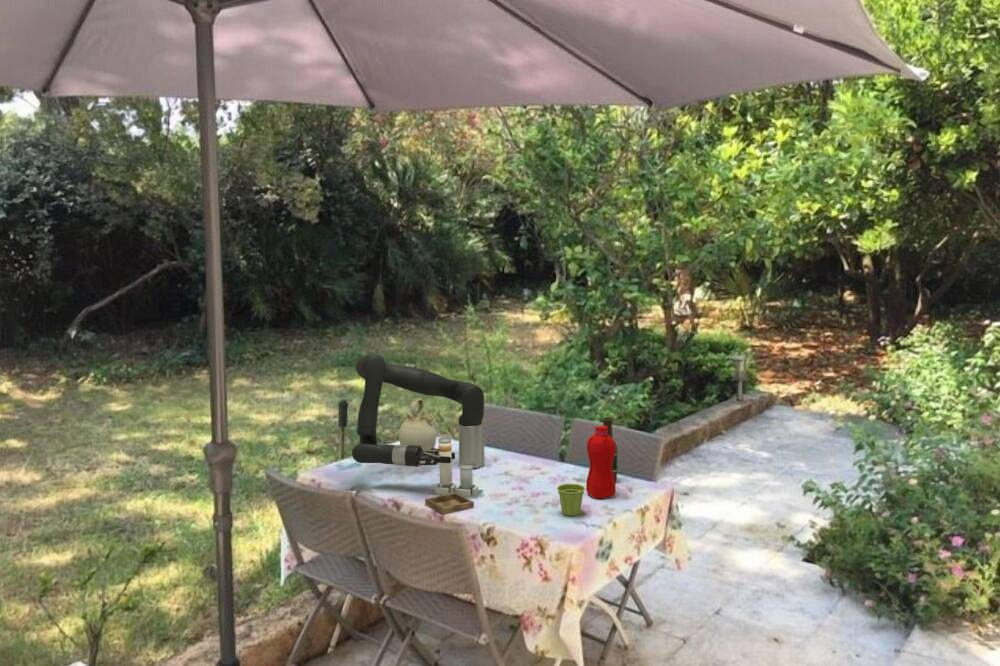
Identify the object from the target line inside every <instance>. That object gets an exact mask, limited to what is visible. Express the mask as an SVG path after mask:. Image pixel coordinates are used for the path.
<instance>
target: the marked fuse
mask: <svg viewBox="0 0 1000 666" xmlns="http://www.w3.org/2000/svg"><path fill="white" fill-rule="evenodd" d="M438 449H439V456H440V457H441V456H446V457H451V463H441V462H440V463H439V468H438V469H439V483H440V485H442V484H443V485H448V484H451V483H453V466H452V465H453V464H452V463H453V462H452V461H453V459H452V456H451V453H452V438H451V437H448V436H447V437H446V436H444V437H439V438H438Z"/></svg>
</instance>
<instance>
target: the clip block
mask: <svg viewBox="0 0 1000 666" xmlns="http://www.w3.org/2000/svg"><path fill="white" fill-rule="evenodd" d="M483 491H484V489H479V486H478V485H476V484H475V483H473V489H472V494H471V490H466V489H460V484H458V485H457V484H455V482H452V483H451V484H448V485H443V484H440V482H438V483H437V482H436V484H435V485H434V486H433V489H432V490H431V491H430V492H429V493H428V494H427V495H428V496H441V495H445V494H450V493H455V492H456V493H458V494H460V495H462V496H464V497H465V498H467V499H478V498H479V497H480V495H481V494H482V493H483Z"/></svg>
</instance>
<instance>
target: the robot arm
mask: <svg viewBox="0 0 1000 666" xmlns="http://www.w3.org/2000/svg"><path fill="white" fill-rule="evenodd" d="M355 370H356V373H357V375H358V376H359V377H361V378H362V379H364V391H363V396H362V399H361V402H360V405H359V409H358V415H357V422H356V423H357V424H356V425H357V427H356V433H357V435H358V436H359V443H358V444H356V445H355V446H354V447H353V448H352V451H351V455H352V456H351V457H352V459H353V460H354V461H355V462H357V463H359V464H384V465H395V466H400V467H415V468H416V467H420V466H436V465H438V464H439V463H440V462H441V463H451V457H446V456H441V457H440V456H439V448H436V447H435V448H431V450H426V451H423V450H422V448H421V446H417V445H400V444H397V445H396V444H378V438H377V427H378V426H377V425H378V413H379V404H380V400H381V399H380V398H381V393H382V387H383V384H385V383H386V384H390V385H392V386H395V387H398V388H401V389H403V390H407V391H409V392H413V393H417V394H419V395H423V396H429V397H430V396H431V397H443V398H446V399H449V400H452V401H454V402H457V403H458V404H460V405H462V406H461V410H462V411H461V415H460V416H459V417H458V456H459V457H458V459H459V461H458V462H459V466H458V467H460V465H462V464H471V465H473V468H477V469H480V468H482V467H483V465H485V463H486V462H485V460H486V459H485V441H483V418H484V415H485V394H484V391H483V389H482V388H481V386H479V385H478V384H474V383H472V382H468V381H462V380H461V381H460V380H455V379H449V378H447V377H444V376H442V375H440V374H438V373H435V372H432V371H429V370H426V369H422V368H419V367H415V366H407V365H398V364H392V363H389V362H386V360H385V358H383V357H382V355H379V354H368V355H364V356H361V357H360V358H359V359H358V360H357V362H356V365H355ZM451 456H452V460H455V459H456V453H455V452H451ZM481 466H482V467H481ZM485 466H486V465H485ZM479 467H480V468H479Z"/></svg>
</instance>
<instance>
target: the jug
mask: <svg viewBox="0 0 1000 666" xmlns="http://www.w3.org/2000/svg"><path fill="white" fill-rule="evenodd" d="M424 403H425V402H424V400H423V398H422V397H415V398H413V400H412V402H411V403H410V408H409V409H410V411H409V412H410V414H411V415H412V416H410V414H408V413H407V412H403V417H402V418H403V420H404V422H403V423H402V424H401V426H400V428H399V430H398V431H399V432H398V439H399V445H417V446H421V448H422V450H423V451H426V450H431V448H435V449H436V443H437V441H436V440H437V429H436V425H434V423H433V421H434V420H435V417H434V416H433V415H432V414H430V413H426V414H425V417H424V416H422V414H423V412H424V407H425V404H424ZM417 405H418V408H417Z"/></svg>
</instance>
